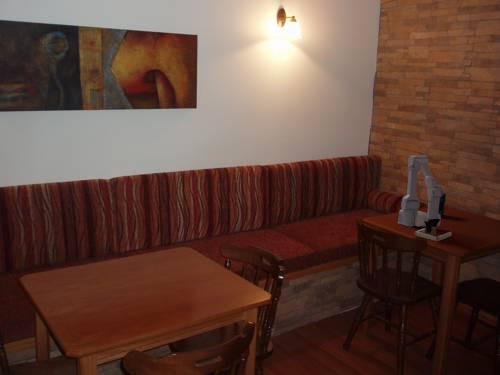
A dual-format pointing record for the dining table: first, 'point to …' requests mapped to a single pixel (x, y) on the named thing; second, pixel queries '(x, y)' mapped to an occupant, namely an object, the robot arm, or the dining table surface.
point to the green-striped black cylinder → (442, 205)
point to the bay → (422, 231)
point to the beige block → (433, 231)
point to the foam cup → (421, 219)
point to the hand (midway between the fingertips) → (430, 231)
